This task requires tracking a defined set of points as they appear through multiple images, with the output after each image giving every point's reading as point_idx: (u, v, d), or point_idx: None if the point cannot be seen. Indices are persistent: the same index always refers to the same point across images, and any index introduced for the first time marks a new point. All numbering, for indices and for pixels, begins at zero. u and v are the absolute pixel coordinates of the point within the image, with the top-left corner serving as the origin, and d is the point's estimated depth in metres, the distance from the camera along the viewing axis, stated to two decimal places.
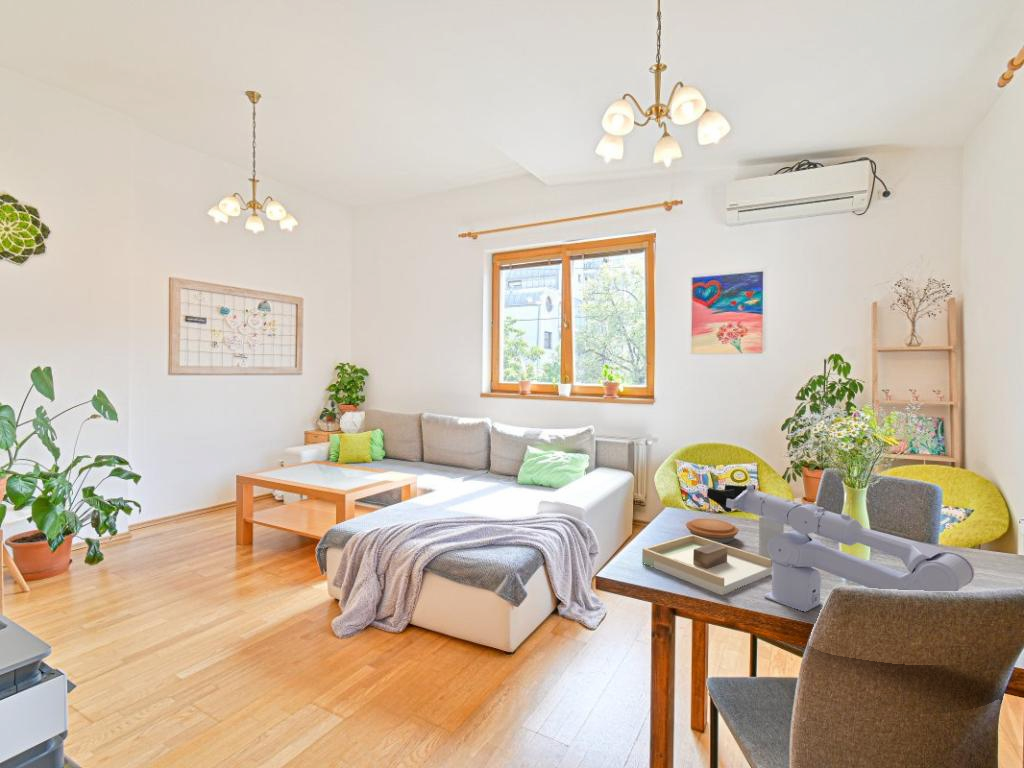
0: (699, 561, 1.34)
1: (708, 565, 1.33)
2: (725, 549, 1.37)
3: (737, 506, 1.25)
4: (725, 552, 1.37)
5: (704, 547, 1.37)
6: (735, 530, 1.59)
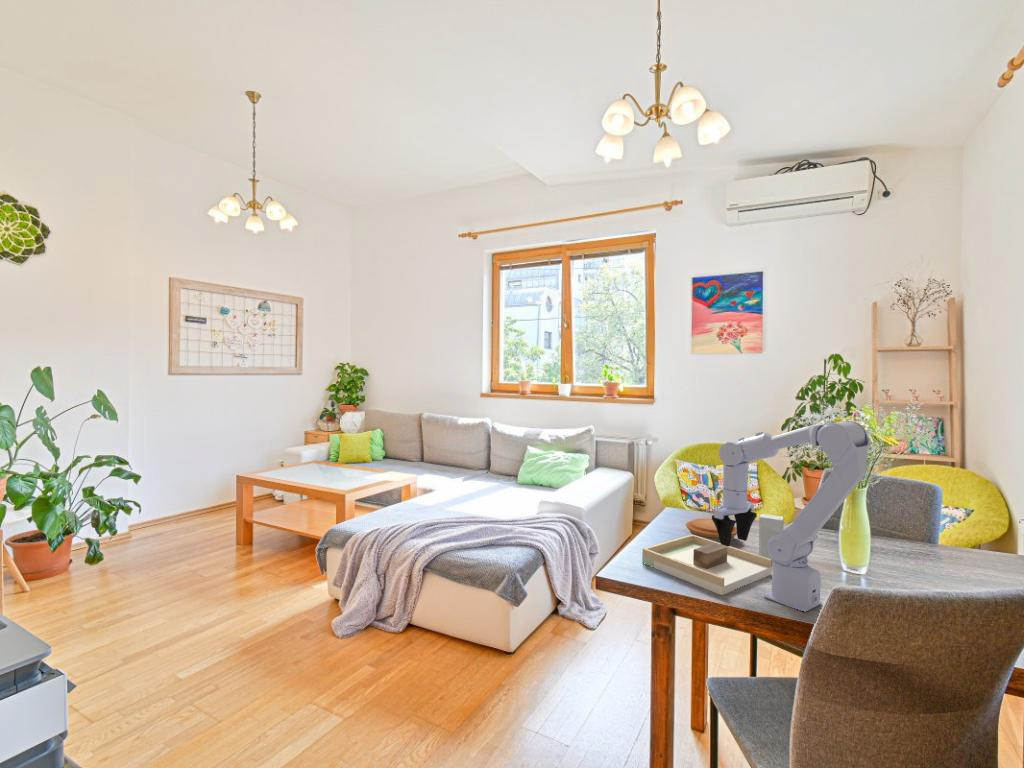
0: (699, 561, 1.34)
1: (708, 565, 1.33)
2: (725, 549, 1.37)
3: (726, 511, 1.27)
4: (725, 552, 1.37)
5: (704, 547, 1.37)
6: (735, 530, 1.59)
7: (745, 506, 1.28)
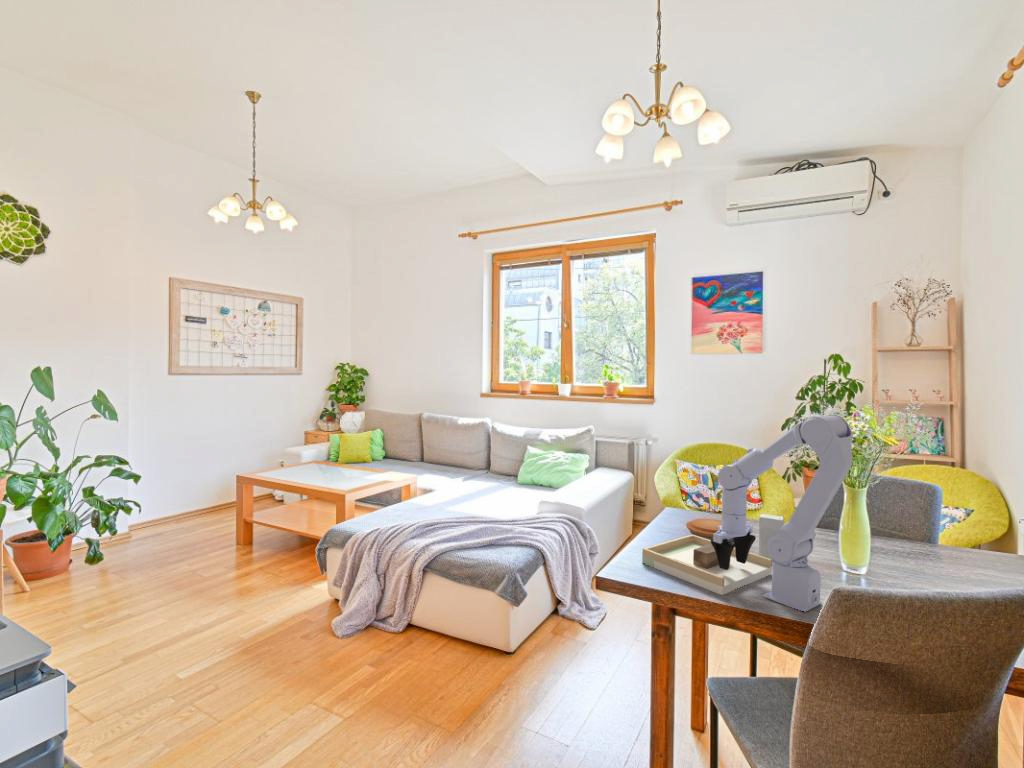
0: (699, 561, 1.34)
1: (708, 565, 1.33)
2: None
3: (725, 535, 1.27)
4: None
5: (704, 547, 1.37)
6: None
7: (744, 530, 1.29)
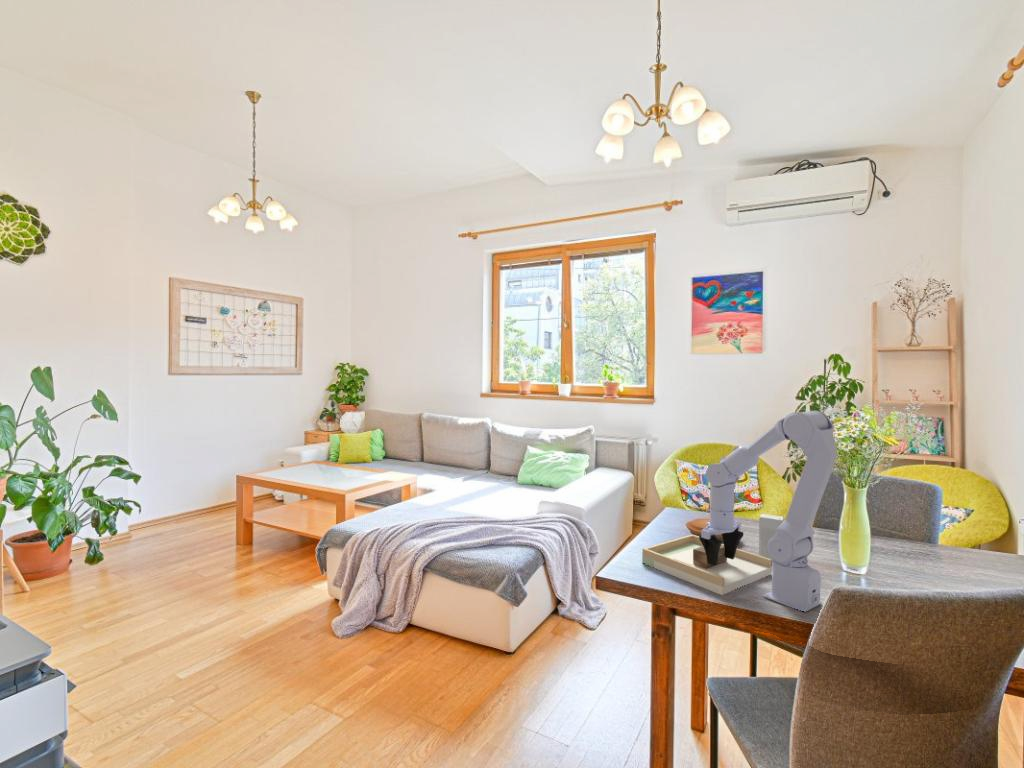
0: (699, 561, 1.34)
1: (708, 564, 1.33)
2: None
3: None
4: None
5: (703, 547, 1.37)
6: None
7: (731, 526, 1.31)
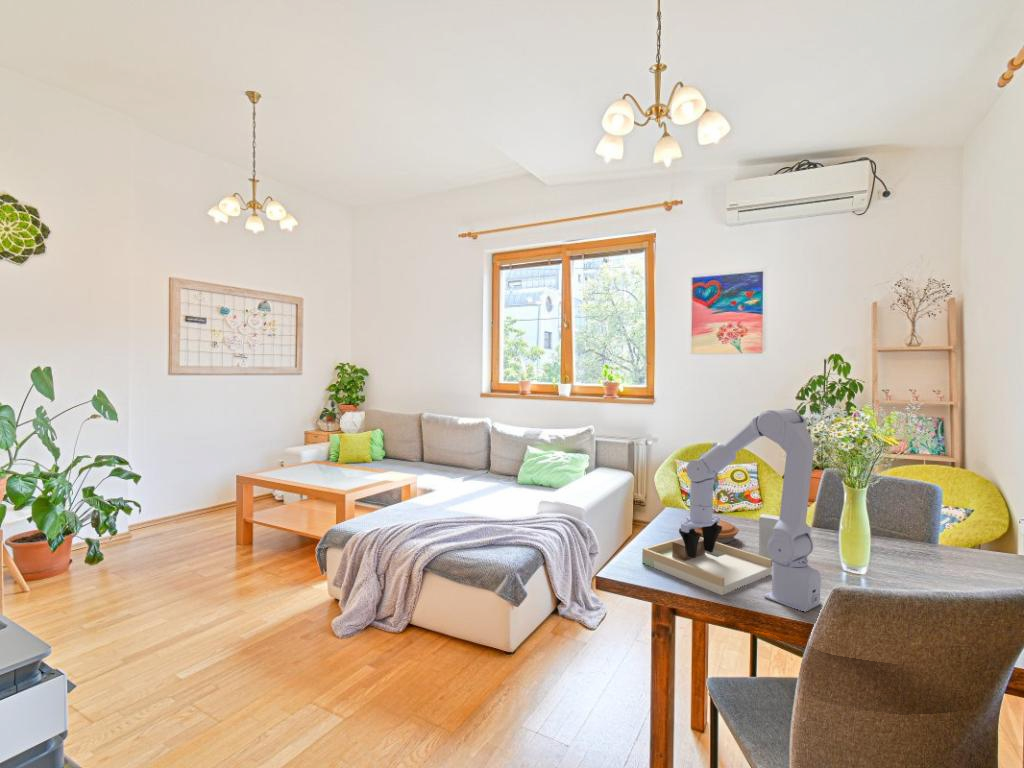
0: (677, 553, 1.39)
1: (686, 557, 1.38)
2: (703, 542, 1.42)
3: (692, 525, 1.35)
4: (703, 545, 1.42)
5: None
6: (735, 530, 1.59)
7: (710, 520, 1.36)
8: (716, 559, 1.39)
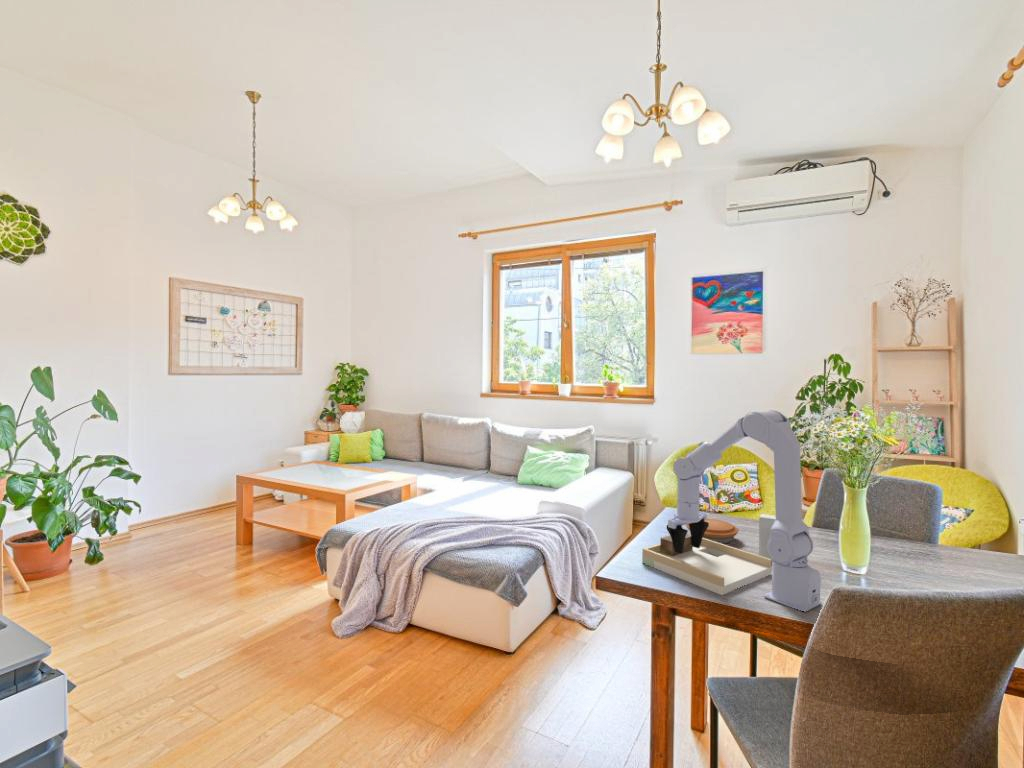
0: (665, 549, 1.43)
1: (673, 552, 1.41)
2: None
3: None
4: (690, 541, 1.46)
5: None
6: (735, 530, 1.59)
7: (697, 516, 1.40)
8: (716, 559, 1.39)
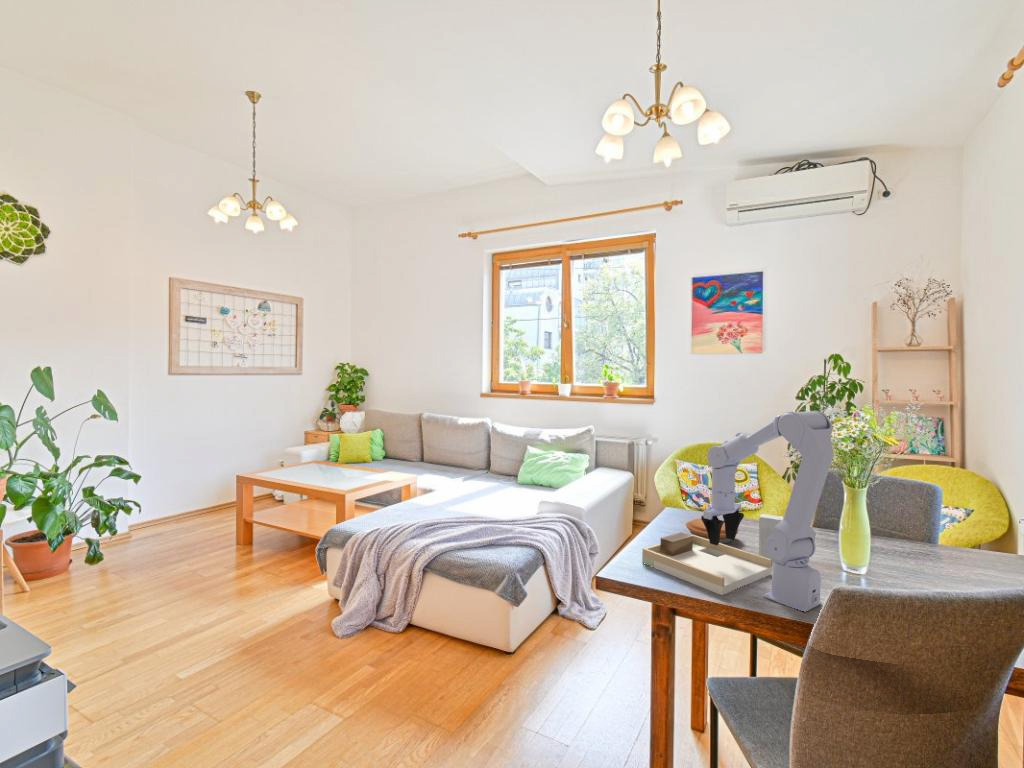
0: (665, 549, 1.43)
1: (673, 552, 1.41)
2: (691, 538, 1.46)
3: None
4: (690, 541, 1.46)
5: (671, 536, 1.45)
6: None
7: (733, 507, 1.35)
8: (716, 559, 1.39)
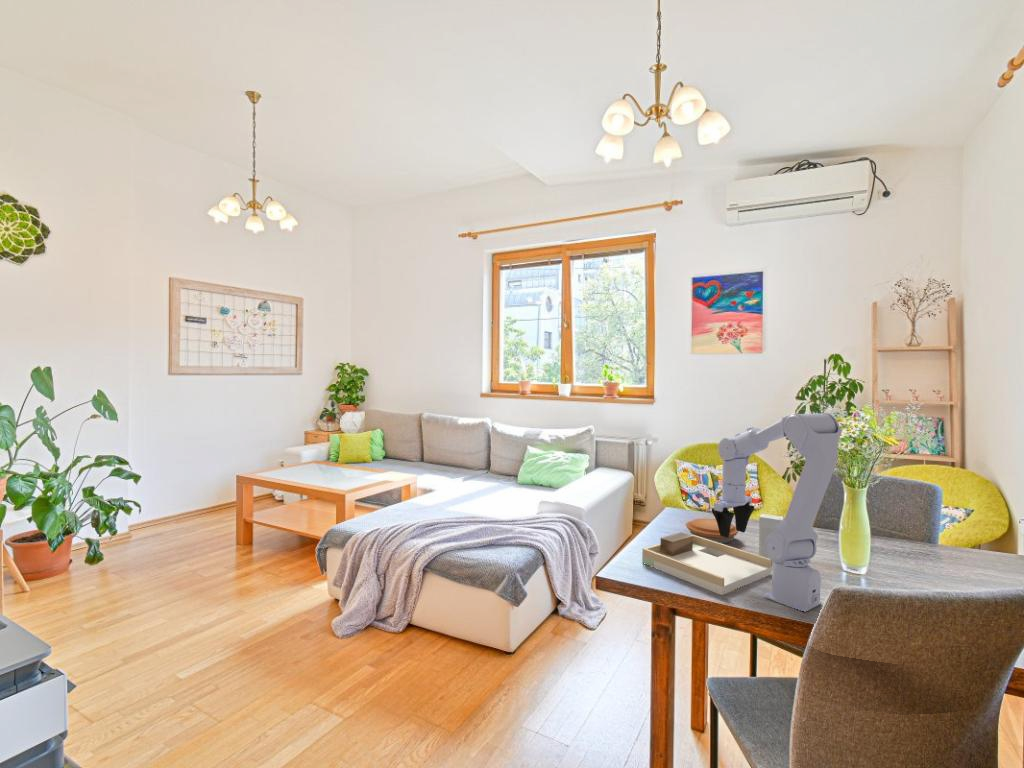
0: (665, 549, 1.43)
1: (673, 552, 1.41)
2: (691, 538, 1.46)
3: None
4: (690, 541, 1.46)
5: (671, 536, 1.45)
6: (735, 530, 1.59)
7: (743, 499, 1.35)
8: (716, 559, 1.39)
